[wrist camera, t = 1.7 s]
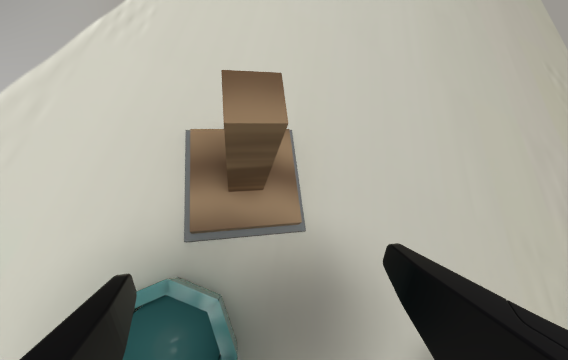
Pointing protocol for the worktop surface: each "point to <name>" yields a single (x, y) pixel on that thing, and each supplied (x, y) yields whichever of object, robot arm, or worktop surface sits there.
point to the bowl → (180, 324)
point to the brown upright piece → (245, 160)
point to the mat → (234, 233)
